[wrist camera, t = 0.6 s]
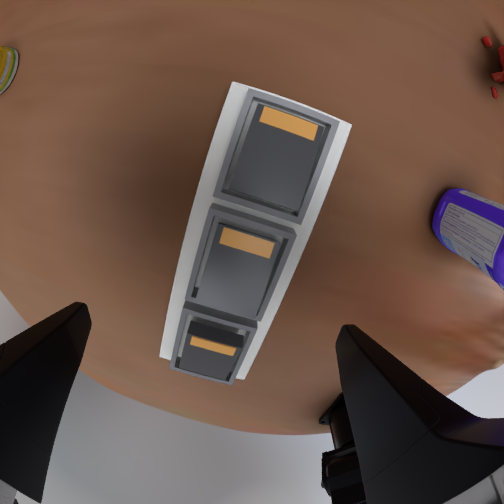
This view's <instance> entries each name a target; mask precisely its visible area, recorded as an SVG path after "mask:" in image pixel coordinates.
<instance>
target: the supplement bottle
mask: <svg viewBox="0 0 504 504" xmlns="http://www.w3.org/2000/svg"><path fill="white" fill-rule="evenodd" d="M17 66H18V53H17V51H16V50H15V49H13V48H9V47H3V46H0V93H2V92H3V91H5V90H6V88H7V87H8V86H9V85H10V83H11V81H12V80H13V78H14V76H15V73H16V70H17Z"/></svg>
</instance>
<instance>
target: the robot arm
mask: <svg viewBox="0 0 504 504" xmlns="http://www.w3.org/2000/svg"><path fill="white" fill-rule="evenodd" d="M91 324H92V323H91V318H90V314H89V311H88V307H87V305H86V304H85V303H82V302H74V303H72V304H71V305H69V306H67V307H65V308H63V309H62V310H60V311H58V312H56V313H54V314H53V315H51V316H49V317H47V318H46V319H44V320H42V321H40V322H39V323H37V324H35V325H33V326H32V327H30V328H28V329H27V330H25V331H23V332H21V333H20V334H18V335H16V336H15V337H13V338H11V339H10V340H8V341H6V343H3V344H1V345H0V504H18V502H17V500H16V499H15V495H16V492H17V490H18V491H19V492H21V493H23V494H24V495H26V496H28V497H29V498H31V499H33V500H35V501H37V502H38V503H41V501H42V496H43V490H44V485H45V480H46V475H47V470H48V466H49V461H50V456H51V453H52V449H53V445H54V441H55V438H56V434H57V430H58V427H59V424H60V420H61V417H62V414H63V411H64V408H65V405H66V402H67V399H68V396H69V393H70V390H71V387H72V384H73V382H74V379H75V376H76V374H77V371H78V368H79V366H80V363H81V360H82V357H83V353H84V350H85V346H86V343H87V339H88V336H89V333H90V330H91ZM336 354H337V361H338V368H339V375H340V381H341V386H342V391H343V393H342V394H341V395H340V396H339V397H338V398H337V400H336V401H335V402H334V403H333V404H332V406H331V407H330V408H329V409H328V410H327V411H326V413H325V414H324V415H323V416H322V417H321V418H320V419H319V424H326V425H330V430H331V434H332V439H333V444H334V448H335V450H332V451H329V452H324V453H322V482H321V486H322V488H325V489H326V491H327V493H328V495H329V496H331V499H332V504H504V418H491V419H487V418H481V417H477V416H475V415H473V414H471V413H470V412H468V411H467V410H465V409H464V408H462V407H461V406H459V405H458V404H456V403H454V402H453V401H452V400H450V399H449V398H447V397H446V396H444V395H443V394H441V393H440V392H439V391H437V390H436V389H435V388H433V387H432V386H431V385H430V384H428V383H427V382H426V381H425V380H423V379H421V377H419V376H418V375H417V374H416V373H414V372H413V371H412V370H411V369H409V368H408V367H407V366H406V365H404V364H403V363H402V362H401V361H399V360H398V359H397V358H396V357H394V356H393V355H392V354H391V353H389V352H388V351H387V350H386V349H384V348H383V347H382V346H381V345H379V344H378V343H377V342H376V341H374V340H373V339H372V338H371V337H369V336H368V335H367V334H366V333H364V332H363V331H362V330H360V329H359V328H358V327H357V326H355V325H353V324H347V325H343V326H342V328H341V330H340V333H339V335H338V338H337V341H336Z"/></svg>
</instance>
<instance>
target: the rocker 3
mask: <svg viewBox="0 0 504 504" xmlns="http://www.w3.org/2000/svg"><path fill="white" fill-rule="evenodd" d="M243 339H244V335H241V334H237V333H233V332H230V331H226V330H222V329H219V328H215V327H212V326H208V325H205V324H201V323H198V322H195V321H190V324H189V328H188V331H187V335H186V339H185V343H184V347H183V352H182V356H181V360H180V365H179V368H182V369H185V370H189V371H192V372H196V373H199V374H203V375H207V376H211V377H215V378H219V379H223V380H225V379H226V377H227V376H228V374H229V372H230V370H231V368H232V367H233V365H234V363H235V361H236V359H237V357H238V356H239V354H240V352H241V350H242V347H243Z"/></svg>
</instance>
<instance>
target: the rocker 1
mask: <svg viewBox="0 0 504 504" xmlns="http://www.w3.org/2000/svg"><path fill="white" fill-rule="evenodd" d="M323 131H324V127H323V126H321V125H318V124H316V123H313V122H311V121H308V120H306V119H303V118H300V117H298V116H295V115H292V114H289V113H287V112H284V111H281V110H278V109H275V108H272V107H269V106H266V105H263V104H260V103H258V105H257V107H256V110H255V113H254V116H253V118H252V121H251V124H250V127H249V129H248V132H247V135H246V138H245V141H244V144H243V147H242V149H241V152H240V155H239V158H238V161H237V164H236V167H235V170H234V173H233V176H232V179H231V182H230V185H229V188H228V189H229V190H232V191H235V192H238V193H241V194H245V195H248V196H251V197H254V198H257V199H260V200H263V201H266V202H269V203H272V204H275V205H278V206H281V207H284V208H287V209H290V210H293V211H299V208H300V204H301V201H302V198H303V195H304V192H305V189H306V186H307V183H308V180H309V176H310V173H311V170H312V167H313V164H314V160H315V157H316V154H317V151H318V147H319V144H320V141H321V137H322V134H323Z"/></svg>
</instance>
